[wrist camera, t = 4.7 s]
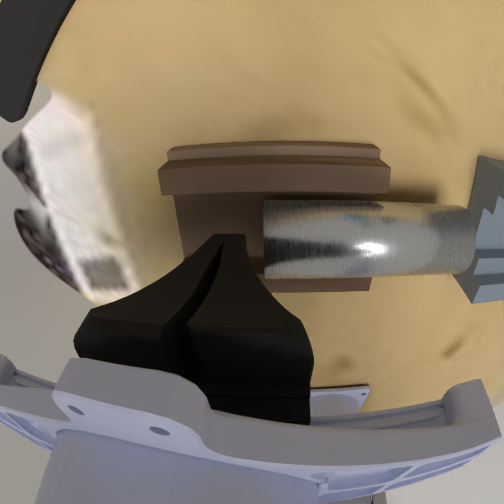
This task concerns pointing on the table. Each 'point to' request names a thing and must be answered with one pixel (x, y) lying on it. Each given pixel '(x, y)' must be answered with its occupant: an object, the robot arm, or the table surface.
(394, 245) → the axle
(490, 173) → the v block
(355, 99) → the table surface
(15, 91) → the phone
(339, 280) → the brown channel tray
